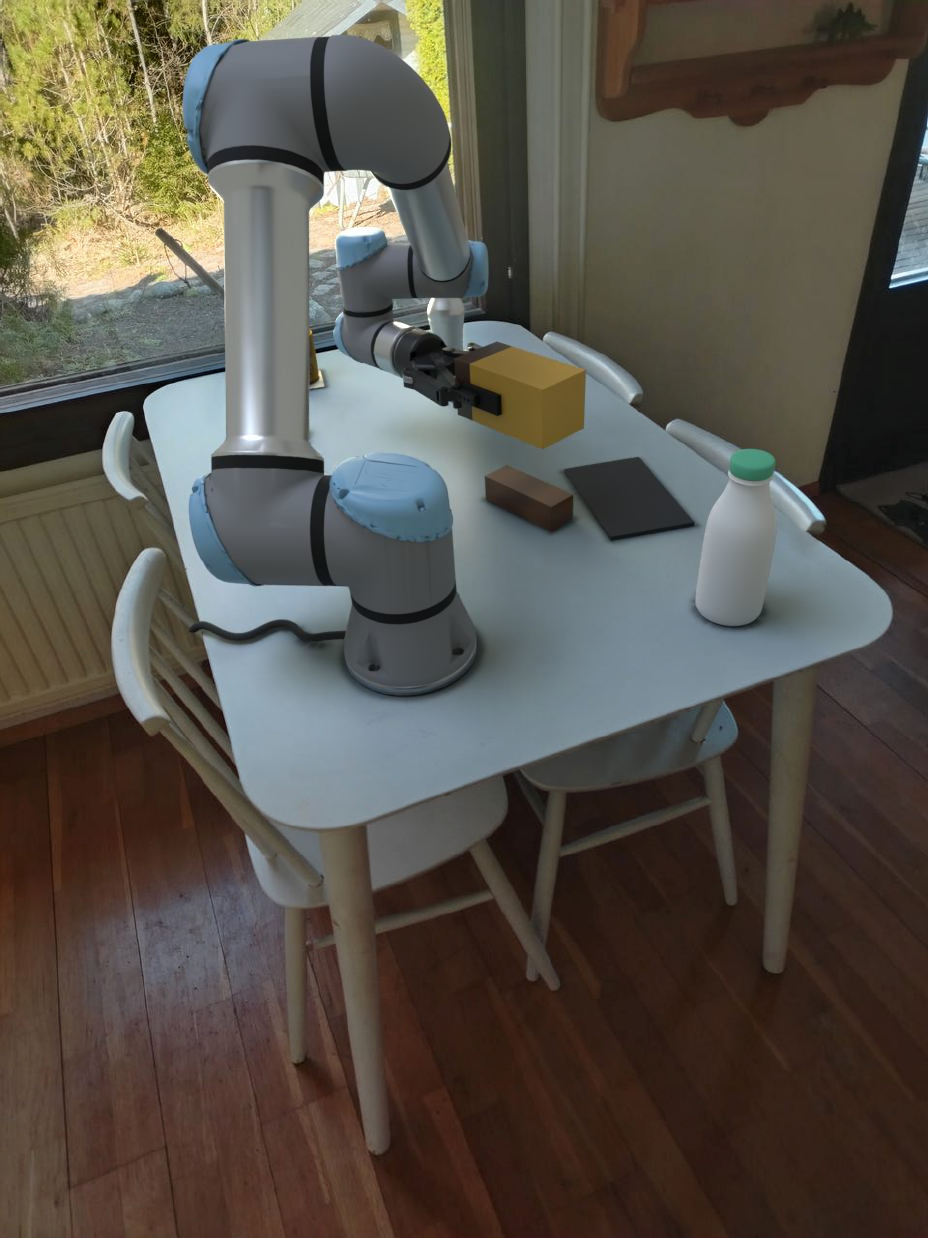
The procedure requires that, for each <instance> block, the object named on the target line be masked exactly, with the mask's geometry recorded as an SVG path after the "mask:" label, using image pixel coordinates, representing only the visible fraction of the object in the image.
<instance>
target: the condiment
mask: <svg viewBox="0 0 928 1238" xmlns="http://www.w3.org/2000/svg"><path fill="white" fill-rule="evenodd" d="M324 387H325V383H324V379H323V375H322V370H321V369H319V364H318V360H317V352H316V347H315V341H314V333H313V330H311V328H309V390H312V389H319V388H324Z"/></svg>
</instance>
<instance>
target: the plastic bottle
mask: <svg viewBox="0 0 928 1238" xmlns="http://www.w3.org/2000/svg"><path fill="white" fill-rule="evenodd" d="M465 311H466V308H465V305H464V302H463V301H462V299H460V298H430V299H429V302H428V304H427V309H426V314H427V319H428V325H429V330H430V332H431V333H434V334H436V335H438V336H439V337H440V338H441V339H442V340H443V342H444V343H445V344H446V346H447V347H450V348H456V349H459V350H462V351H463V350H464V324H465V314H466V313H465ZM454 377H455V376H454Z"/></svg>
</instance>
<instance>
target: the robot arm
mask: <svg viewBox="0 0 928 1238" xmlns="http://www.w3.org/2000/svg"><path fill="white" fill-rule="evenodd" d="M182 120H183V127H184V129H185V130H186V131H187V137H186V143H187V146H188V150H189V153H190V155H191V157H192V159H193V162H194V163H195V165H196V166H197V168H198V169H199V170H200V171H201V172H202V174H205V175H207V184H208V186H209V188H210V189H211V190H212V191H213V192H214V193H215V194H216V195H217V196H218V197H219V199H220V200H221V201H222V202H223V273H224V274H223V275H224V279H223V281H224V283H223V284H224V353H225V354H224V364H225V365H224V366H225V367H224V368H225V370H224V371H225V372H224V373H225V376H224V377H225V379H224V380H225V439H224V441H223V443H221V444H220V445H219V446H218V447H217V448H216V449H215V450H213V452H212V453H211V455H210V456H211V457H210V464H211V465H210V467H211V470H210V472H206V473H205V474H202V475H200V476H199V477H197V478H196V479H195V481H194V483H193V484H192V486H191V491H192V492H191V494H190V495H189V498H188V499H189V500H188V515H189V516H188V519H189V527H190V532H191V536H192V541H193V544H194V548H195V549H196V552H197V555H198V557H199V559H200V560H201V561H202V564H203V565H204V567H205V568H206V570H207V571H208V572H209V573H210V575H212V576H213V577H214V578H216V579H217V580H220V581H222V582H224V583H229V584H239V585H249V586H252V587H255V588H257V587H262V586H294V587H295V586H296V587H299V586H301V587H346V588H348V589H349V595H350V600H351V601H350V602H351V607H350V611H349V616H348V620H347V624H346V629H345V630H332V631H331V630H330V631H322V632H314V633H311V632H306V631H305V630H303V628H301V627H300V625H299V624H297V623H296V622H294V621H292V620H289V619H284V618H281V619H280V618H279V619H274V620H270V621H268V622H265V623H262V624H261V625H259V626H257V627H256V628H253V629H251V630H249V631H245V632H233V631H229V630H226V629H223V628H221V627H219V626H217V625H216V624H213V623H211V622H209V621H205V620H200V621H196V622H194V623H193V624H191V626H190V627H189V628H188V632H189V633H192V634H194V633H197V632H199V631H200V630H204V631H208V632H210V633H211V634H214V635H215V636H217V637H220V638H222V639H224V640H226V641H227V640H228V641H232V642H245V641H246V642H247V641H250V640H253V639H255V638H258V637H260V636H261V635H263V634H266V633H267V632H269V631H272V630H275V629H279V628H281V629H282V628H283V629H288V630H290V631H291V632H292V633H293V634H294V635H295V636H296V637H297V638H299V639H301V640H302V641H305V642H308V643H309V642H310V643H317V642H324V641H336V640H343V654H344V659H345V665H346V668H347V670H348V672H349V674H350V675H351V676H352V678H353V679H355V681H356V682H358V683H359V684H360V685H362V686H364V687H366V688H368V690H371V691H374V692H377V693H381V694H385V695H391V696H418V695H422V694H423V695H424V694H427V693H431V692H434V691H435V692H436V691H438V690H440V689H443V688H444V687H447V686H449V685H450V684H453V683H454V682H456V681H458V679H460V678H461V677H462V676H464V675H465V674H466V672H468V670H469V669H470V668H471V667H472V665H473V663H474V661H475V659H476V656H477V651H478V643H477V642H478V641H477V633H476V630H475V625H474V623H473V621H472V618H471V617H470V615H469V613H468V611H467V608H466V606H465V605H464V603H463V601H462V599H461V595H460V593H459V592H458V591H457V576H456V565H455V564H456V563H455V550H454V537H453V525H454V515H453V512H452V509H451V503H450V496H449V491H448V487H447V486H448V485H447V483H446V481H445V479H444V477H442V475H441V474H440V473H439V472H438V471H437V470H436V469H434V468H432V467H431V466H430V465H429V464H428V463H427V462H425V461H423V460H420V459H418V458H415V457H413V456H410V455H406V454H401V453H394V452H368V453H364V454H363V455H362V457H361V456H356V455H355V456H352V457H349V458H348V459H345V460H343V461H342V462H340V463H339V464H338V465H337V466H336V467H335V469H334V470H333V471H332V474H329V475H328V474H325V459H324V457H323V456H322V454H320V453H319V452H318V451H317V449H316V448H314V446H313V445H312V443H311V441H310V439H311V438H310V436H311V435H310V429H311V428H310V426H311V425H310V389H309V329H310V211H311V209H313V208H314V207H315V205H317V204H318V203H319V202H320V201H321V200H322V199H323V197H324V195H325V173H332V172H333V173H334V172H347V171H366V172H370V173H371V174H372V176H373V177H374V179H375V180H376V181H377V182H378V183H380V184H381V185H382V186H384V187H385V188H386V189H387V192H388V194H389V197H390V199H391V201H392V204H393V206H394V209H395V211H396V213H397V216H398V219H399V221H400V223H401V225H402V227H403V230H404V232H405V235H406V237H407V240H408V243H406V242H405V243H403V242H402V243H388V239H387V236H386V233H385V231H384V230H382V229H381V228H379V227H371V226H357V227H352V228H348V229H345V230H343V231H341V232H340V233H339V234H338V235H336V238H335V241H334V245H335V246H334V249H335V257H336V266H335V268H336V271H337V278H338V283H339V289H340V296H341V301H342V308H343V309H342V312H341V313H340V314H339V315H338V316H337V318H336V320H335V322H334V329H333V331H332V333H333V334H332V336H333V341H334V343H335V346H336V348H337V349H338V350H339V351H340V352H341V353H342V354H343V355H345V356H347V357H349V358H350V359H352V360H353V361H355V362H357V363H360V364H365V365H368V366H370V367H374V368H376V369H379V370H380V371H384V372H387V373H389V374H391V375H394V376H396V377H397V378H398V377H399V378H400V379H402V383H403V388H406V389H410V390H413V391H415V392H416V393H418V394H420V395H422V396H424V397H425V398H427V399H428V400H430V401H431V402H434V403H435V404H436V405H438V406H439V407H443V408H444V407H447V406H449V403H450V402H452V408H453V409H455V410H457V409H459V408H462V403H464V404H466V405H469V406H473V407H476V408H478V409H481V410H483V411H486V412H488V413H491V414H493V415H496V416H499V415H502V404H501V394H498V393H495V392H493V391H490V390H487V389H485V388H482V387H479V386H477V385H474V384H471V383H468V382H465V383H463V388H462V387H461V384H460V383H459V382H458V381H457V379H455V377H454V376H455V364H454V358H457V357H459V356H462V355H464V354H467V353H469V352H472V351H474V350H477V349H479V348H482V347H483V346H482V345H479V344H477V343H476V342H468V343H467V348H466V349H463V351H462V350H459V349H456V348H450V347H447V346H446V344H445V343H444V342H443V340H442V339H441V338H440V337H439V336H438V335H436V334H434V333H431V331H427V330H425V329H422V328H419V327H416V326H413V325H410V324H406V323H403V322H401V321H397V320H395V319H394V302H393V300H413V299H432V298H460V299H461V300H464V299H466V298H479V297H483V296H485V294H486V293H487V291H488V288H489V272H490V271H489V253H488V252H489V251H488V248H487V246H486V244H485V243H484V242H482V241H473V240H471V239H468V236H467V232H466V227H465V224H464V220H463V217H462V212H461V209H460V204H459V201H458V197H457V194H456V190H455V185H454V182H453V177H452V173H451V169H450V166H449V161H450V158H451V152H452V137H451V131H450V127H449V123H448V119H447V116H446V114H445V111H444V109H443V107H442V105H441V103H440V101H439V100H438V98H437V96H436V95H435V93H434V92H433V89H431V88H430V87H429V85H428V83H426V81H425V80H424V78H422V76H420V74H419V73H418V72H417V71H415V69H414V68H413V67H412V66H410V65H409V64H408V63H407V62H406V61H405V60H404V59H402V58H401V57H400V56H399V55H397V54H396V53H394V52H392V51H391V50H389V49H388V48H386V47H385V46H383V45H381V44H379V43H376V42H375V41H372V40H370V39H367V38H366V37H365V38H364V37H360V36H357V35H353V34H352V35H351V34H350V35H349V34H332V35H330V36H328V35H327V36H311V37H310V36H308V37H293V38H280V39H264V40H249V39H247V38H238V39H233V40H231V41H229V42H224V43H215V44H210V45H209V44H208V45H207V46H205V47H203V48H202V49H201V50H200V51H198V53H196V54H195V55H194V57H193V58H192V60H191V63H190V64H189V67H188V69H187V72H186V75H185V80H184V86H183V94H182Z"/></svg>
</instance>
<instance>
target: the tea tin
mask: <svg viewBox="0 0 928 1238" xmlns="http://www.w3.org/2000/svg"><path fill="white" fill-rule="evenodd" d="M454 364H455V379H457V381H458V382H459V383H460V384H461V387H462V388H463V383H465V382H468V383H471V384H474V385H477V386H479V387H482V388H485V389H487V390H490V391H493V392H495V393H498V394H501V404H502V415H499V416H496V415H493V414H491V413H488V412H486V411H483V410H481V409H478V408H476V407H473V406H469V405H466V404H464V403H462V408H459V409H456V410H457V415H458V416H460V417H463V418H465V419H467V420H470V421H472V422H474V423H476V424H479V425H482V426H484V427H486V428H489V429H491V430H494V431H497V432H499V433H501V434H504V435H506V436H509V437H512V438H514V439H515V440H518V441H520V442H523V443H526V444H528V445H530V446H532V447H535V448H538V449H540V450H544V449H546V448H549V447H550V446H552V445H554V444H556V443H558V442H560V441H562V440H564V439H566V438H568V437H570V436H572V435H574V434H577V433H578V432H580V431H582V430H584V429H585V410H586V384H587V383H586V379H587V370H586V369H584V368H582V367H578V366H576V365H572V364H569V363H566V362H562V361H559V360H556V359H554V358H551V357H547V356H544V355H541V354H537V353H534V352H532V351H528V350H525V349H523V348H519V347H516V346H513V345H510V344H506V343H503V342H501V341H494V342H492V343H489V344H486V345H484V346H482V348H479V349H477V350H474V351H472V352H469V353H467V354H464V355H462V356H459V357H457V358H454Z"/></svg>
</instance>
